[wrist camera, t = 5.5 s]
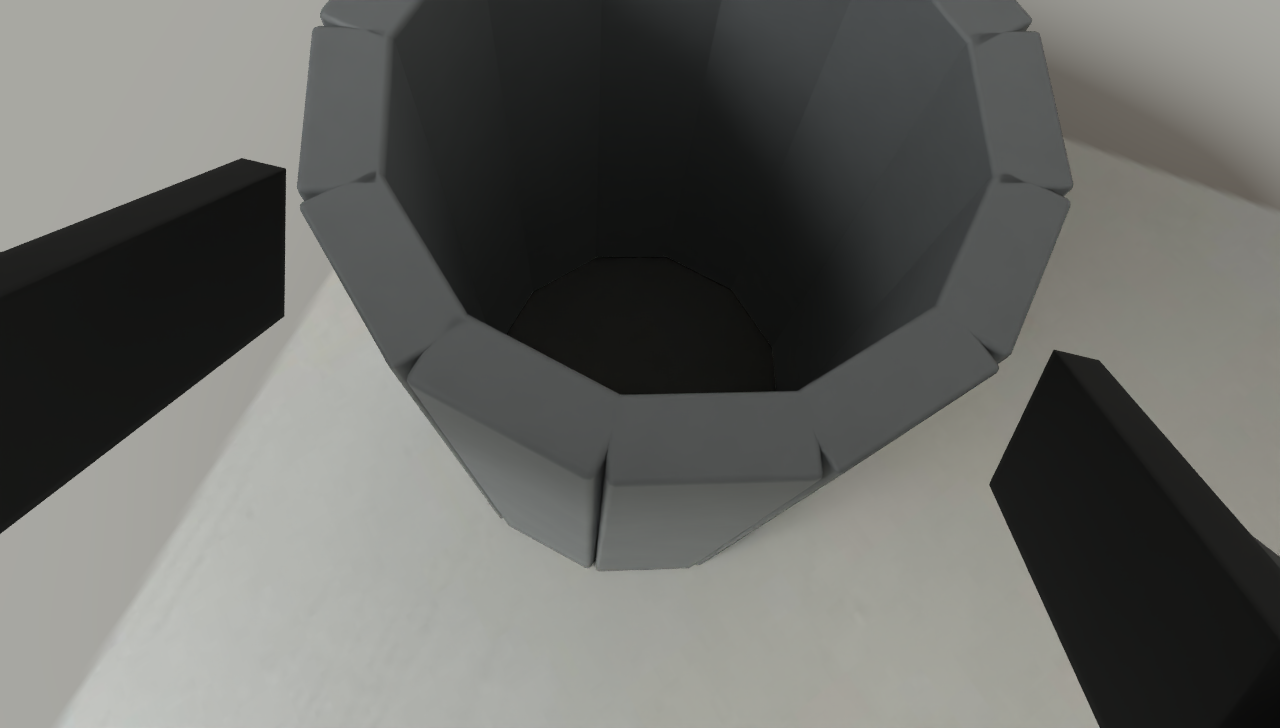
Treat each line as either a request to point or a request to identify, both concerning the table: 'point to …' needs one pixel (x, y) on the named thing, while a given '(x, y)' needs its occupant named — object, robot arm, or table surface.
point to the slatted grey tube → (683, 232)
